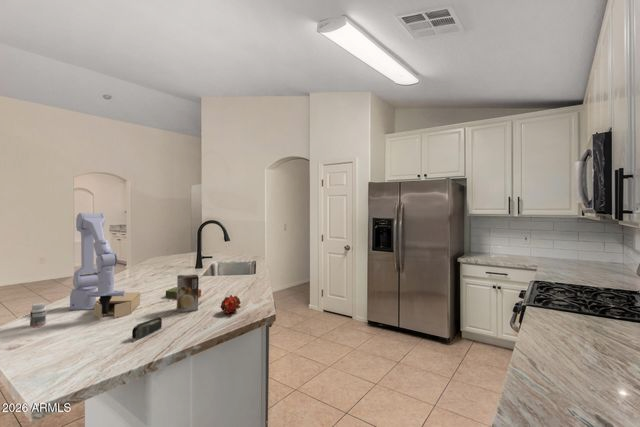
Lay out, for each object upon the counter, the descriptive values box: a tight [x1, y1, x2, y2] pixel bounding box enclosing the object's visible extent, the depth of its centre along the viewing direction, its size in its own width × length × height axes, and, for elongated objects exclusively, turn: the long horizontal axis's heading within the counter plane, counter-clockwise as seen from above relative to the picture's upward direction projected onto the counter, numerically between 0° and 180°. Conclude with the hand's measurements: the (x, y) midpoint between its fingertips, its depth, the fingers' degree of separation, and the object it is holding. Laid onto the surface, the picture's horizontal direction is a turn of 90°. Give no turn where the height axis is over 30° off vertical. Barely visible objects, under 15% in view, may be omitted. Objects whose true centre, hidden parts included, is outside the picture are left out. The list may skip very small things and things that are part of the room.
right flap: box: [113, 302, 131, 319], centre depth 141 cm, size 7×1×5 cm, turn 150°
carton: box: [165, 286, 202, 300], centre depth 174 cm, size 8×16×4 cm, turn 81°
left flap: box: [93, 303, 104, 319], centre depth 138 cm, size 7×1×5 cm, turn 57°
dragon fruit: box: [220, 294, 242, 315], centre depth 152 cm, size 8×8×12 cm
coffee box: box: [176, 273, 200, 313], centre depth 154 cm, size 9×6×16 cm
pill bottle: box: [29, 302, 47, 328], centre depth 127 cm, size 5×5×8 cm
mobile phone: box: [131, 316, 163, 343], centre depth 123 cm, size 5×3×15 cm
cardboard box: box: [96, 291, 141, 316], centre depth 149 cm, size 14×14×6 cm
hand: (105, 313), depth 137 cm, fingers closed, pressing on left flap
